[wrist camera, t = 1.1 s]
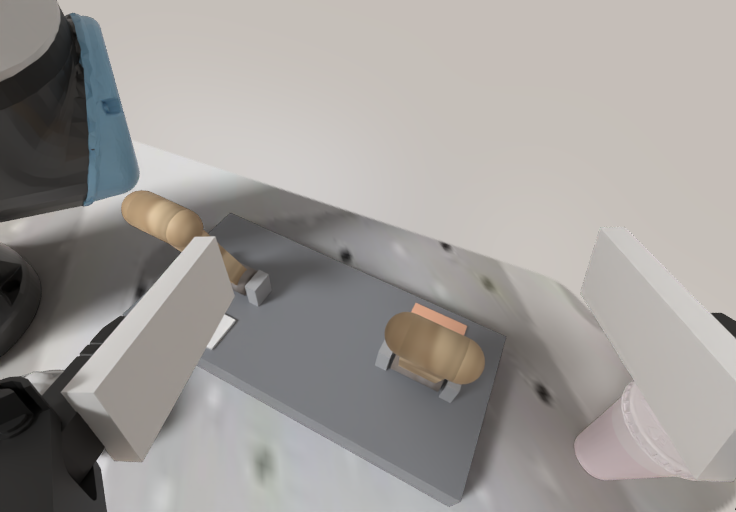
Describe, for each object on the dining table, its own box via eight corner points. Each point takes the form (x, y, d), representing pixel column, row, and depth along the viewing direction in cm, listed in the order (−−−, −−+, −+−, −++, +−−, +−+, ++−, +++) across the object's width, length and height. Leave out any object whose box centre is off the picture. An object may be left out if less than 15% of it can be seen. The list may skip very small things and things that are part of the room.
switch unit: (136, 331, 35) (110, 298, 30) (235, 231, 43) (225, 194, 39) (449, 506, 29) (471, 496, 24) (494, 351, 37) (517, 322, 33)
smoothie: (567, 400, 35) (680, 323, 24) (642, 442, 33) (801, 381, 22) (549, 467, 31) (672, 414, 20) (631, 519, 29) (816, 492, 18)
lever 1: (205, 277, 36) (103, 209, 23) (220, 255, 36) (129, 177, 24) (254, 301, 34) (175, 244, 22) (268, 278, 35) (199, 210, 23)
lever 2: (382, 365, 32) (376, 341, 19) (394, 339, 32) (396, 299, 20) (444, 396, 31) (479, 392, 18) (455, 368, 31) (496, 345, 19)
